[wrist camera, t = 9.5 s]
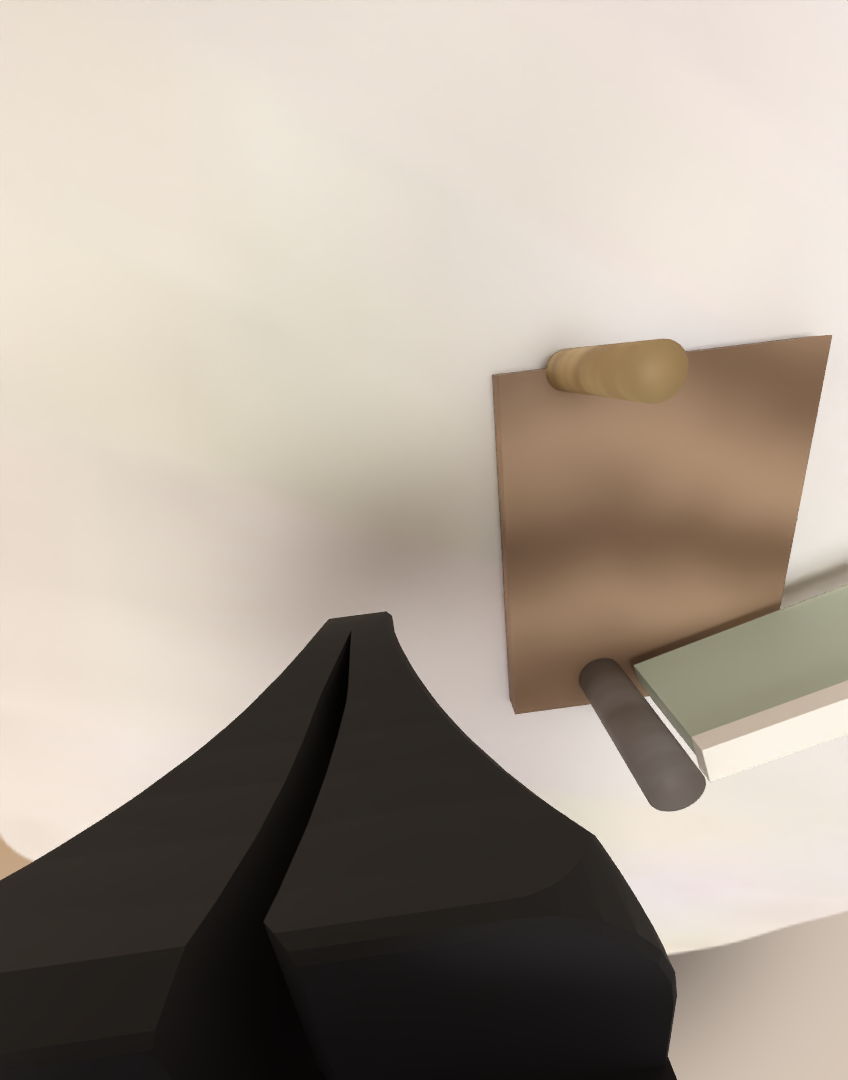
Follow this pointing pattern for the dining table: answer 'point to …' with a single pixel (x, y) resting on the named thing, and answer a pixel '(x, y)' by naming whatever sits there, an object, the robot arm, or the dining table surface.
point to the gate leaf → (758, 686)
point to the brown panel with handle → (646, 520)
